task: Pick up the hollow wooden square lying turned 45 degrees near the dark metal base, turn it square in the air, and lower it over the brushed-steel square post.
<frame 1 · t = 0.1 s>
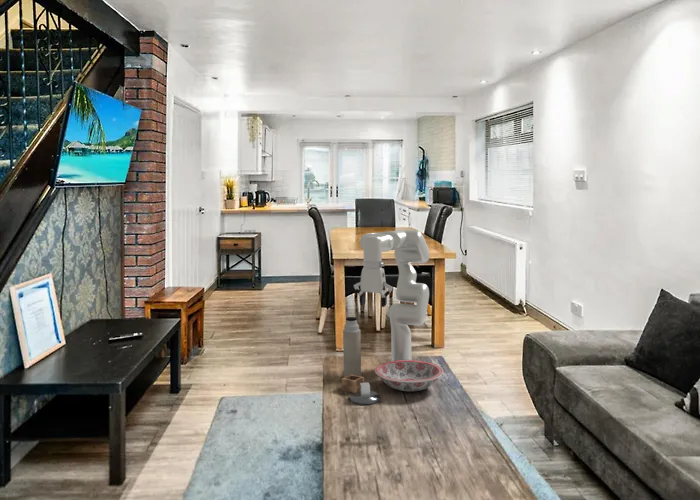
hand: (373, 305, 237), 37 cm above the table, tool pointing down, fingers open, 9 cm apart
ceramic bowl: (408, 388, 244), on the table
thermos bottle: (352, 377, 259), on the table
post base: (365, 399, 231), on the table
hollow wooden square: (353, 389, 243), on the table
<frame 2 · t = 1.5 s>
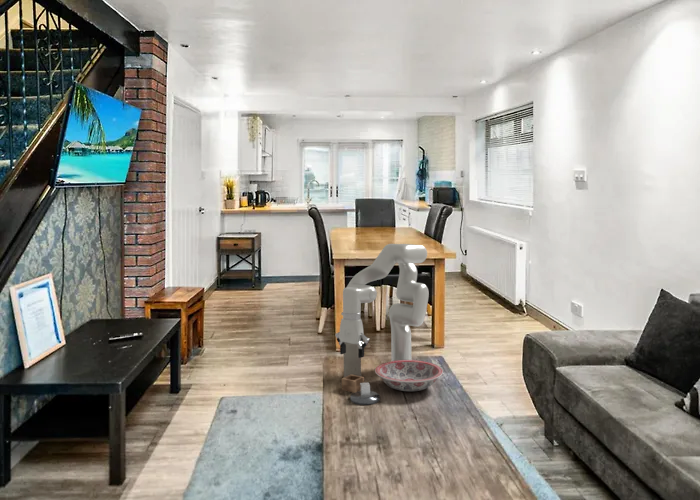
hand: (352, 355, 242), 15 cm above the table, tool pointing down, fingers open, 9 cm apart
nothing on the table moved.
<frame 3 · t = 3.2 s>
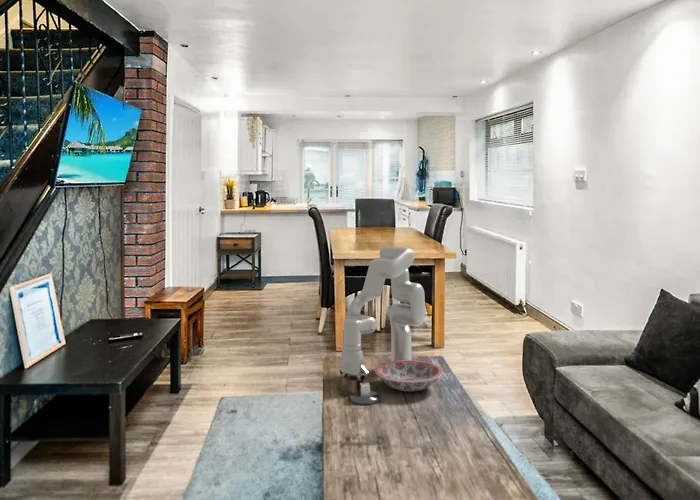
hand: (353, 387, 243), 1 cm above the table, tool pointing down, fingers closed on hollow wooden square, 7 cm apart
thermos bottle: (352, 377, 259), on the table, touching arm
hollow wooden square: (353, 389, 243), on the table, touching gripper
everything else where it was.
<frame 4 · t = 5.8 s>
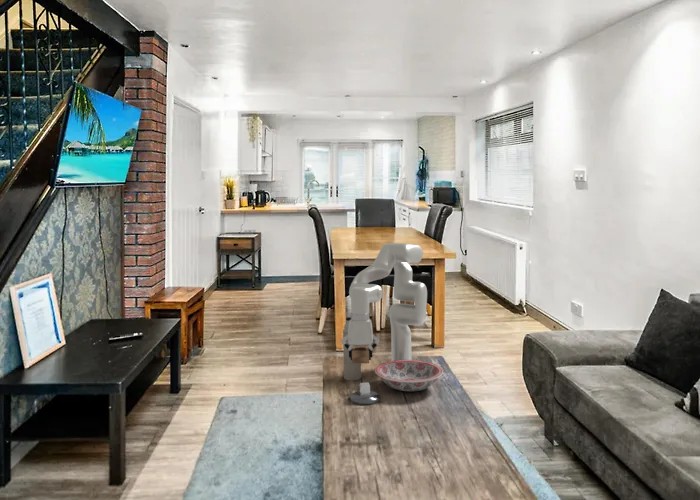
hand: (360, 358, 233), 16 cm above the table, tool pointing down, fingers closed on hollow wooden square, 7 cm apart
thermos bottle: (352, 377, 259), on the table
hollow wooden square: (360, 360, 233), point 15 cm above the table, touching gripper
everything else where it was.
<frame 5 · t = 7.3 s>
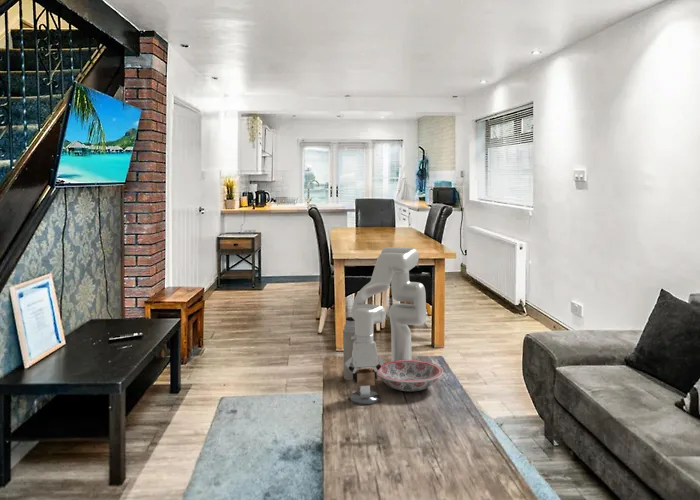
hand: (364, 380, 230), 8 cm above the table, tool pointing down, fingers closed on hollow wooden square, 7 cm apart
hollow wooden square: (364, 382, 230), point 7 cm above the table, touching gripper
everything else where it was.
when the fingers open (4 cm above the table, at t = 8.6 s): hollow wooden square drops 1 cm, resting on post base.
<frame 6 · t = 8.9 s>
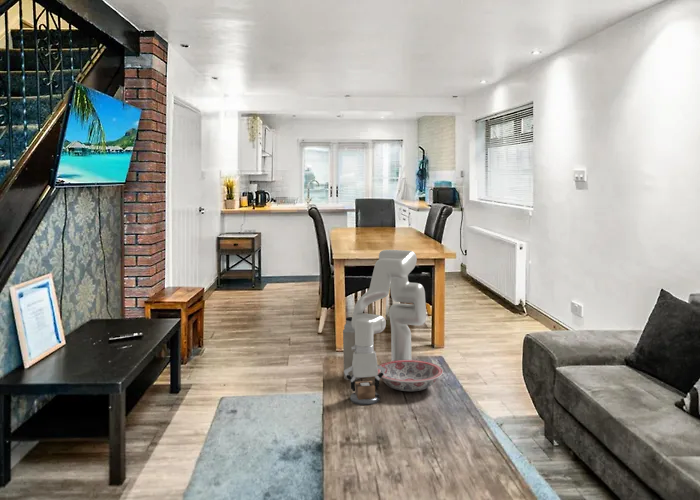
hand: (365, 389, 231), 4 cm above the table, tool pointing down, fingers open, 9 cm apart
hollow wooden square: (365, 395, 231), point 1 cm above the table, touching post base
everything else where it was.
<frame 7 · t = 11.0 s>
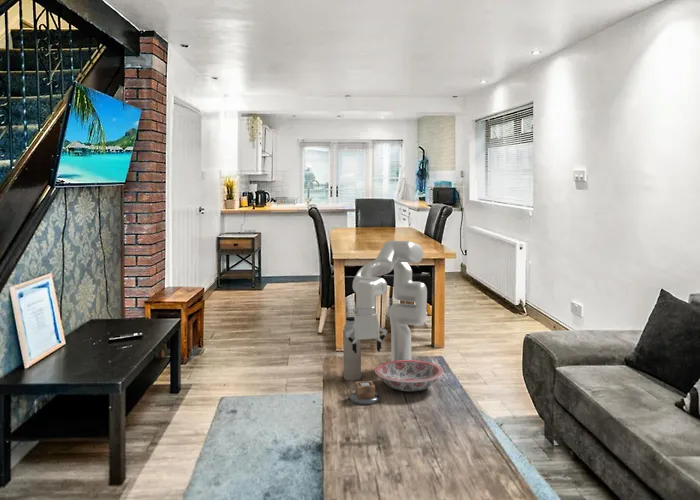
hand: (366, 351, 231), 20 cm above the table, tool pointing down, fingers open, 9 cm apart
nothing on the table moved.
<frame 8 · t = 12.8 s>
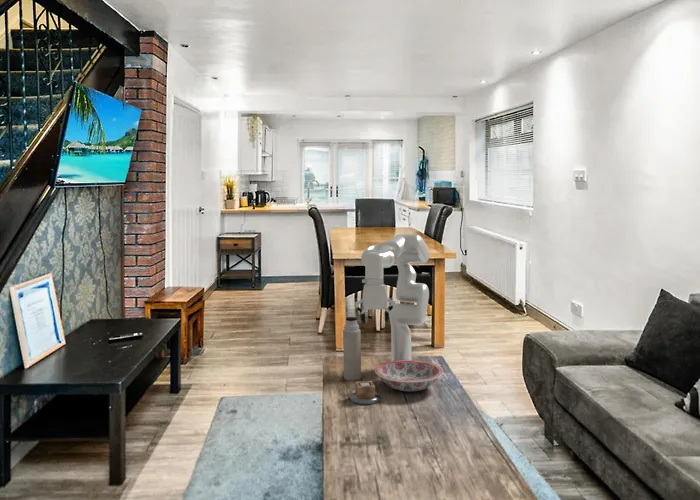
hand: (374, 322, 237), 30 cm above the table, tool pointing down, fingers open, 9 cm apart
nothing on the table moved.
at the end: hollow wooden square 0.1 cm off-centre on the post base, point 1.5 cm above the post base's base; hollow wooden square tilted 0°; the gripper is holding nothing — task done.
